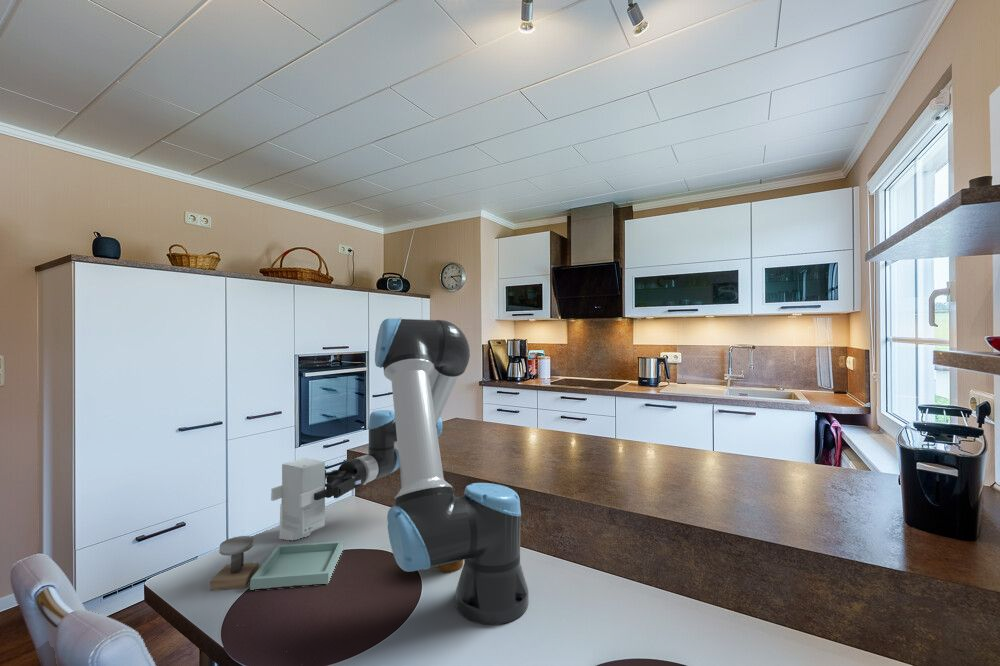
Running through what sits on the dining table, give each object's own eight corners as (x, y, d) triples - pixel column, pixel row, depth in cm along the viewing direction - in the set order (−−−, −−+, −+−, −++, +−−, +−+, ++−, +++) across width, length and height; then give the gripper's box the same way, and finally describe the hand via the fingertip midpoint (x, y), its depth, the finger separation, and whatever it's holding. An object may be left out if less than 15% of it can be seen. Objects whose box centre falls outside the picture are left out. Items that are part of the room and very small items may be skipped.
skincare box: (325, 526, 99) (327, 461, 100) (299, 537, 93) (301, 468, 94) (304, 519, 103) (306, 456, 104) (279, 528, 98) (281, 462, 99)
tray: (328, 584, 91) (328, 573, 91) (249, 590, 88) (250, 579, 89) (343, 550, 107) (343, 540, 107) (277, 555, 104) (277, 545, 104)
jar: (283, 544, 110) (285, 498, 111) (274, 534, 116) (276, 491, 117) (318, 534, 116) (319, 491, 117) (308, 525, 122) (309, 484, 123)
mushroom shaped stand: (245, 587, 90) (246, 548, 90) (210, 590, 89) (211, 550, 89) (258, 570, 97) (259, 534, 97) (225, 573, 95) (227, 536, 96)
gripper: (387, 491, 111) (319, 522, 90) (329, 480, 119) (254, 506, 99) (388, 463, 111) (320, 488, 90) (329, 454, 120) (255, 475, 99)
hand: (286, 497), depth 95 cm, fingers closed on skincare box, 9 cm apart
